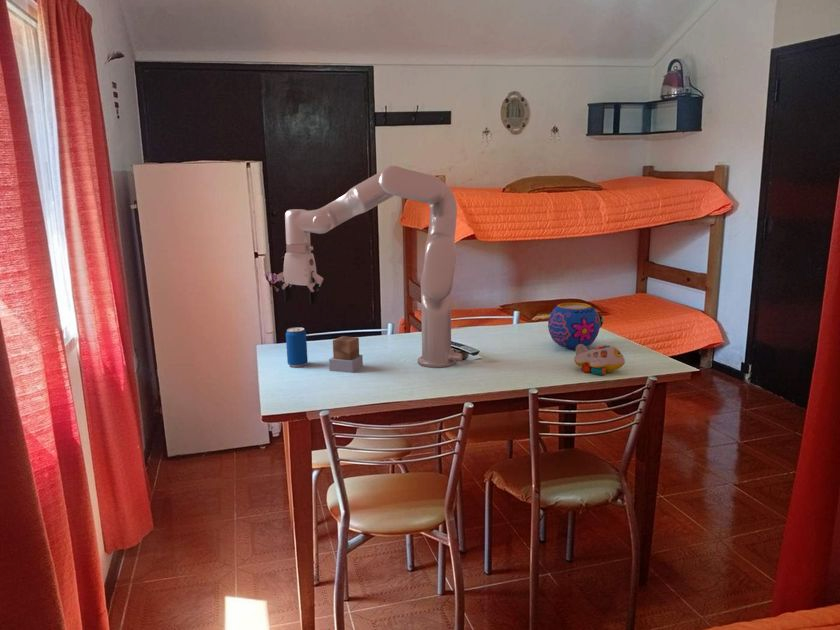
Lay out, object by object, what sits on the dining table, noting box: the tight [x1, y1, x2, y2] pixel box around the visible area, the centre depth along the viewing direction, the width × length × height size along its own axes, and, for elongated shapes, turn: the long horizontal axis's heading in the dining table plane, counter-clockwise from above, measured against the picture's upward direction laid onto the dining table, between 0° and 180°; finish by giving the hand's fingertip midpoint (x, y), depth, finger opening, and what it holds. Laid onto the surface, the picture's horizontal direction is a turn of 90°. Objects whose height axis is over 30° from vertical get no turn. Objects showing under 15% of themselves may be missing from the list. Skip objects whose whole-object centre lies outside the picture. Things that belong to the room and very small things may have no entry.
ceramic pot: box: [547, 302, 604, 350], centre depth 233 cm, size 18×18×15 cm
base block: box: [328, 354, 364, 374], centre depth 214 cm, size 8×8×4 cm
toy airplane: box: [573, 344, 626, 376], centre depth 206 cm, size 13×9×15 cm
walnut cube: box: [332, 335, 360, 360], centre depth 213 cm, size 6×6×6 cm
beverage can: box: [285, 326, 309, 368], centre depth 218 cm, size 6×6×12 cm
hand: (300, 302), depth 215 cm, fingers open, 9 cm apart
